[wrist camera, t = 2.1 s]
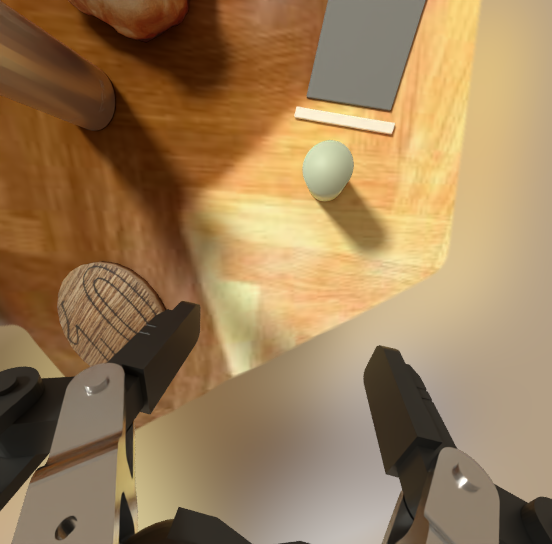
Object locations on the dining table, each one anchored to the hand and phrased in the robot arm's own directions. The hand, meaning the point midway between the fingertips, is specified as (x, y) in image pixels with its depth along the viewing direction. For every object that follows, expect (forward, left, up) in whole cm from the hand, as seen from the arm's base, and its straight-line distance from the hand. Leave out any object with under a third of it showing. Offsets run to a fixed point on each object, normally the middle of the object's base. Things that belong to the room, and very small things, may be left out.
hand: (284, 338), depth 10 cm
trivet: (-35, -23, -26) cm, 49 cm away
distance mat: (-1, +26, -26) cm, 37 cm away
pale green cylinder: (-1, +11, -26) cm, 28 cm away
